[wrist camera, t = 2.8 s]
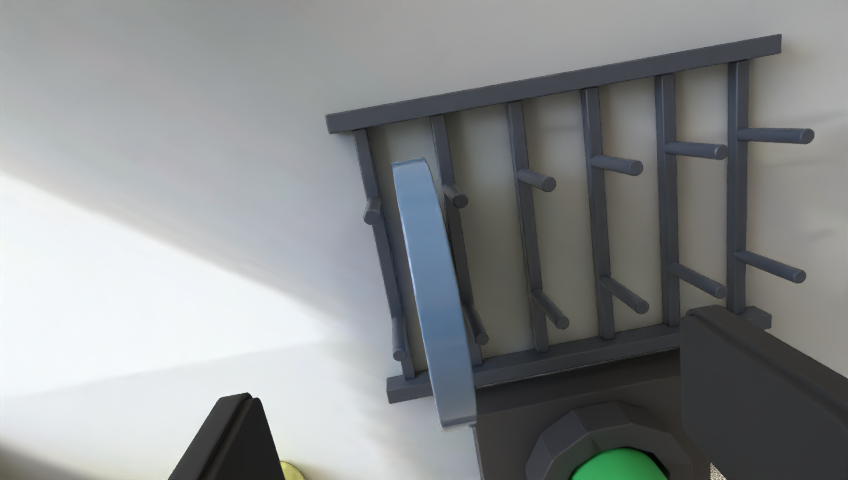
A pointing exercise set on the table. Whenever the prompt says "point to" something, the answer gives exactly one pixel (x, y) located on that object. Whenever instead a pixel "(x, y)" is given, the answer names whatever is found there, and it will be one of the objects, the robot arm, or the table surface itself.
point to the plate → (436, 295)
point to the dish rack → (667, 149)
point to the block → (586, 420)
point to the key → (291, 472)
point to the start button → (618, 466)
